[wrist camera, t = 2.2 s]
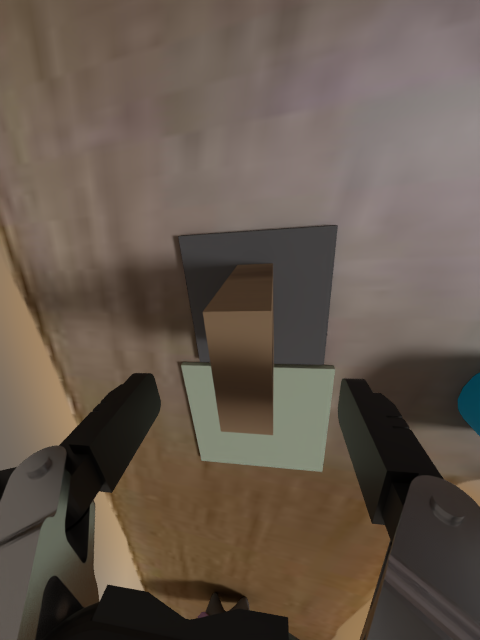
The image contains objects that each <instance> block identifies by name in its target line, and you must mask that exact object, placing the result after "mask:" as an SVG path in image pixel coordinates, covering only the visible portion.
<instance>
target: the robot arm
mask: <svg viewBox="0 0 480 640" xmlns="http://www.w3.org/2000/svg"><path fill="white" fill-rule="evenodd" d="M160 407H161V400H160V396H159V393H158V389H157V385H156V382H155V378H154V376H153V374H151V373H134V374H132V375H131V376H130V377H129V378H128V379H127V381H126V382H125V383H124V384H121V385H120V386H118V387H117V388H115V389H114V390H112V391H111V392H109V393H108V395H107V396H106V397H105V398H104V399H103V400H102V401H101V403H100V404H98V405H97V406H96V407H95V408H94V409H93V412H90V413H89V415H88V416H87V417H86V418H85V419H84V420H83V421H82V422H81V423H80V424H79V425H78V426H77V427H76V428H75V429H74V430H73V431H72V433H71V434H70V435H69V436H68V437H67V438H66V439H65V440H64V441H63V442H62V443H61V444H60V445H59V446H51V447H47V448H44V449H42V450H40V451H38V452H36V453H34V454H33V455H31V456H29V457H28V458H27V459H25V460H24V461H23V462H22V463H21V464H20V465H19V466H18V467H15V468H10V469H6V470H2V471H0V640H299V639H298V638H296V637H295V636H293V635H292V634H290V633H289V631H288V617H283V616H278V615H272V614H267V613H261V612H256V611H250V610H245V609H235V610H231V611H227V612H222V613H218V614H214V615H209V616H205V617H201V618H197V619H191V620H189V619H185V618H183V617H182V616H181V615H179V614H178V613H176V612H175V611H174V610H172V609H171V608H169V607H168V606H167V605H165V604H164V603H163V602H161V601H160V600H158V599H157V598H156V597H154V596H153V595H151V594H150V593H149V592H145V591H139V590H134V589H129V588H123V587H117V586H112V585H107V588H106V589H105V591H104V594H103V596H102V598H101V600H100V602H99V595H98V588H97V583H96V579H95V575H94V566H93V563H94V529H95V527H94V526H95V503H94V498H95V496H96V494H97V493H98V492H99V491H101V492H110V493H112V492H113V490H114V488H115V487H116V485H117V483H118V482H119V480H120V478H121V477H122V475H123V473H124V472H125V470H126V468H127V466H128V465H129V463H130V461H131V460H132V458H133V456H134V455H135V453H136V451H137V449H138V448H139V446H140V444H141V443H142V441H143V439H144V438H145V436H146V434H147V433H148V431H149V429H150V427H151V426H152V424H153V422H154V421H155V419H156V417H157V416H158V414H159V411H160ZM338 418H339V424H340V427H341V430H342V433H343V436H344V439H345V442H346V445H347V448H348V451H349V454H350V458H351V461H352V464H353V467H354V470H355V473H356V476H357V479H358V482H359V485H360V488H361V491H362V494H363V497H364V500H365V503H366V507H367V510H368V513H369V516H370V519H371V522H372V524H381V525H385V526H386V529H387V531H388V534H389V537H390V539H391V540H390V542H389V546H388V549H387V552H386V556H385V559H384V562H383V565H382V569H381V572H380V575H379V579H378V582H377V585H376V589H375V592H374V595H373V599H372V602H371V605H370V609H369V612H368V615H367V618H366V622H365V625H364V628H363V631H362V634H361V637H360V640H480V507H479V506H478V505H477V503H476V502H475V501H474V500H473V499H472V498H471V497H470V496H469V495H467V494H466V493H465V492H464V491H463V490H461V489H460V488H458V487H457V486H455V485H453V484H452V483H450V482H448V481H446V480H444V479H443V477H442V476H441V475H440V473H439V472H438V470H437V469H436V467H435V465H434V464H433V462H432V461H431V459H430V458H429V456H428V455H427V453H426V452H425V450H424V449H423V447H422V446H421V444H420V443H419V441H418V440H417V438H416V437H415V435H414V434H413V432H412V431H411V430H410V429H409V426H408V424H407V423H406V421H405V420H404V419H402V415H401V414H400V412H399V411H398V409H397V408H396V406H395V405H394V404H393V403H392V402H391V401H390V400H389V399H387V398H386V397H385V396H384V395H382V394H381V393H373V392H372V391H371V389H370V387H369V385H368V384H367V382H366V381H365V380H364V379H344V378H343V379H342V382H341V389H340V396H339V404H338Z"/></svg>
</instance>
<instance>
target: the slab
mask: <svg viewBox="0 0 480 640" xmlns="http://www.w3.org/2000/svg"><path fill="white" fill-rule="evenodd" d="M203 317H204V323H205V330H206V337H207V343H208V350H209V357H210V363H211V370H212V376H213V383H214V390H215V396H216V403H217V410H218V416H219V423H220V430H221V432H234V433H248V434H262V435H273V389H274V314H273V263H270V264H248V265H237V266H236V268H235V269H234V270H233V272H232V273H231V274H230V276H229V277H228V278H227V280H226V281H225V283H224V284H223V285H222V287H221V288H220V289H219V291H218V292H217V293H216V295H215V296H214V297H213V299H212V300H211V301H210V303H209V304H208V305H207V307H206V308H205V309H204V311H203Z"/></svg>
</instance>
